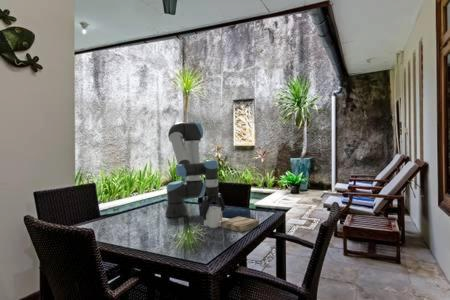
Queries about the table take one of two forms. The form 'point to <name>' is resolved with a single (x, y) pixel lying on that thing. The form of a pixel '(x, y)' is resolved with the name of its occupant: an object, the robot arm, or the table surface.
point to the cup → (213, 216)
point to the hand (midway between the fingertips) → (213, 223)
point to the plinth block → (239, 224)
